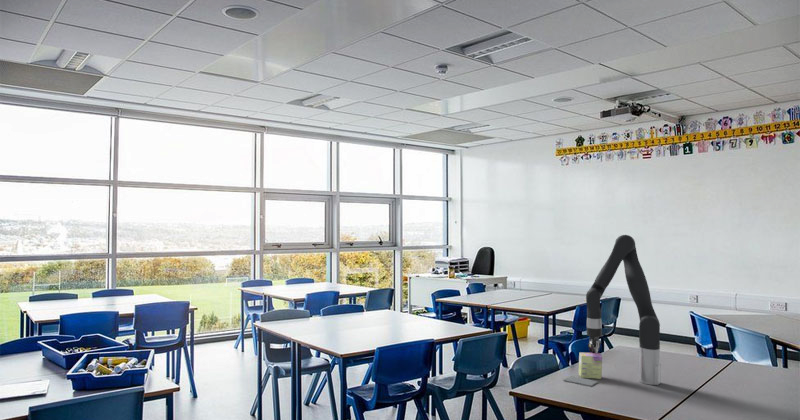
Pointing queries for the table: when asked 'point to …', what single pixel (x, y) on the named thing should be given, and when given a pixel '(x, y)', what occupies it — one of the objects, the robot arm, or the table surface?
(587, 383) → the mat
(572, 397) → the table surface
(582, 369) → the box
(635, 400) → the table surface
